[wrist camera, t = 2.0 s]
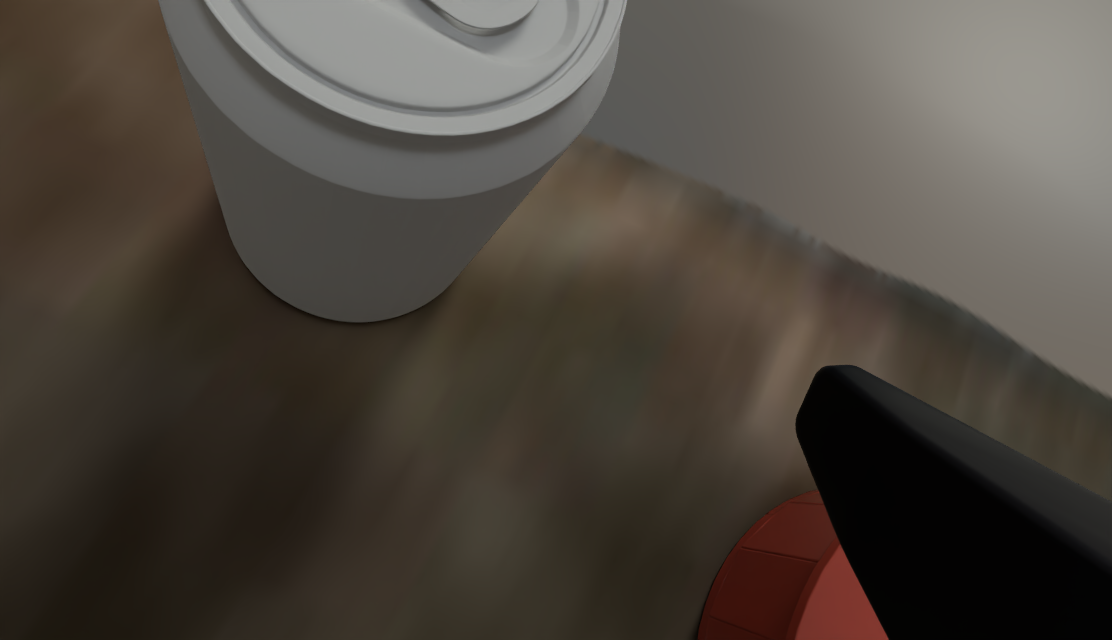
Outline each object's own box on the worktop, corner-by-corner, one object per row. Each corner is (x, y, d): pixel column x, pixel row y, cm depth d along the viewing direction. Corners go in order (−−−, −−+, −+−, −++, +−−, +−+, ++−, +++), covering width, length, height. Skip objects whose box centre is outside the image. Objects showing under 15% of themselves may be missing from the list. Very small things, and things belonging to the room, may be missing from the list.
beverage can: (333, 50, 21) (369, -410, 10) (518, 199, 22) (740, -71, 11) (168, 222, 19) (-17, -114, 8) (379, 378, 20) (477, 271, 9)
